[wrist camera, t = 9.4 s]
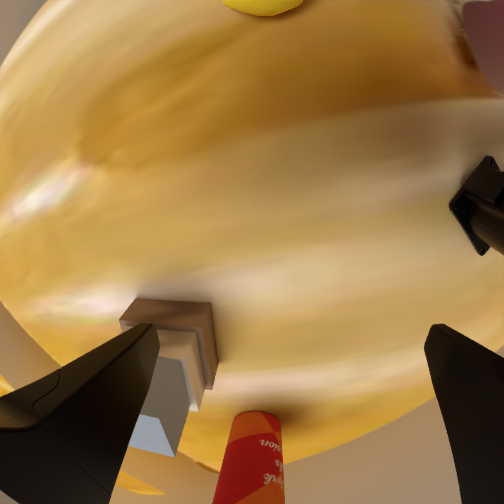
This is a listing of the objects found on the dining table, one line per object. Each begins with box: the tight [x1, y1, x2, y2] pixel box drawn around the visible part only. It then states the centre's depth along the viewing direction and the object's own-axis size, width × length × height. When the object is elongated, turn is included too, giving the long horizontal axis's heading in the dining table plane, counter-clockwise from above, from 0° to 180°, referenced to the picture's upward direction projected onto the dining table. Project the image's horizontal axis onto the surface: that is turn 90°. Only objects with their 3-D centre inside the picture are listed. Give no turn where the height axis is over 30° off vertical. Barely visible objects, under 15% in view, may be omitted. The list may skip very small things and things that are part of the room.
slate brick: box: [128, 358, 190, 457], centre depth 17 cm, size 5×5×5 cm
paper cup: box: [212, 411, 285, 504], centre depth 23 cm, size 8×8×14 cm
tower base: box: [119, 299, 218, 412], centre depth 22 cm, size 7×7×6 cm
